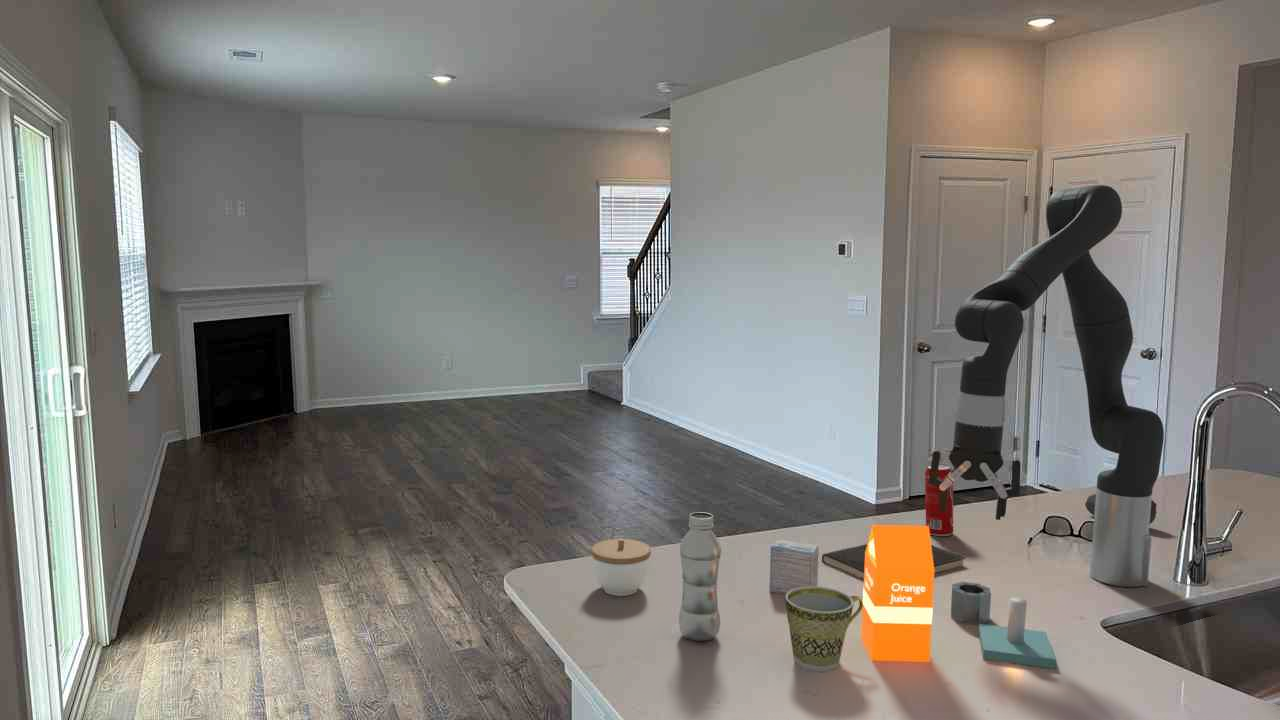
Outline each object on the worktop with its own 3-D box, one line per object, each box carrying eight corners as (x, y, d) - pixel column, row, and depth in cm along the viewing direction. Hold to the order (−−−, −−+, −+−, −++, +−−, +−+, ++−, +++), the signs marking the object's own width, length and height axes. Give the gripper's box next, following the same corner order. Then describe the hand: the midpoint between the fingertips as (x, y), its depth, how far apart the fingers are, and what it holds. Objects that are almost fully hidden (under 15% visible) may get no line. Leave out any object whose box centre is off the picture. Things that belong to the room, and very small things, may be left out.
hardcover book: (964, 568, 177) (965, 557, 177) (881, 590, 165) (882, 578, 165) (902, 545, 191) (902, 534, 190) (821, 563, 179) (821, 552, 178)
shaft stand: (1044, 640, 144) (1048, 592, 142) (1054, 668, 134) (1058, 617, 133) (978, 632, 146) (981, 585, 145) (983, 659, 137) (986, 608, 136)
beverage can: (954, 538, 194) (958, 470, 192) (923, 536, 195) (927, 468, 193) (951, 529, 199) (954, 464, 198) (920, 527, 201) (924, 462, 199)
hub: (987, 612, 154) (988, 584, 154) (990, 626, 149) (991, 597, 148) (950, 608, 156) (951, 580, 155) (951, 621, 150) (953, 593, 150)
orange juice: (860, 638, 144) (866, 517, 141) (916, 639, 143) (922, 518, 141) (871, 660, 136) (877, 533, 133) (930, 662, 136) (937, 534, 133)
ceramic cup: (807, 683, 129) (810, 616, 127) (770, 654, 138) (772, 591, 136) (880, 667, 134) (884, 603, 133) (840, 640, 143) (843, 579, 142)
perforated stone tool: (1079, 516, 211) (1081, 487, 210) (1090, 512, 214) (1092, 484, 213) (1146, 533, 199) (1148, 502, 198) (1156, 528, 202) (1159, 498, 201)
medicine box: (817, 591, 163) (819, 545, 162) (811, 599, 159) (813, 552, 158) (775, 583, 166) (777, 538, 165) (768, 592, 162) (770, 545, 161)
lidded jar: (614, 574, 170) (615, 526, 169) (661, 587, 164) (662, 537, 163) (578, 591, 161) (579, 541, 160) (627, 606, 155) (627, 553, 154)
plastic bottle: (708, 649, 139) (711, 524, 136) (670, 639, 142) (672, 517, 140) (727, 634, 144) (730, 514, 142) (690, 624, 148) (692, 507, 145)
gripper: (1024, 421, 150) (1015, 515, 152) (935, 412, 155) (927, 503, 157) (1027, 428, 143) (1017, 527, 145) (933, 419, 148) (925, 514, 150)
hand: (970, 515), depth 151 cm, fingers open, 8 cm apart
